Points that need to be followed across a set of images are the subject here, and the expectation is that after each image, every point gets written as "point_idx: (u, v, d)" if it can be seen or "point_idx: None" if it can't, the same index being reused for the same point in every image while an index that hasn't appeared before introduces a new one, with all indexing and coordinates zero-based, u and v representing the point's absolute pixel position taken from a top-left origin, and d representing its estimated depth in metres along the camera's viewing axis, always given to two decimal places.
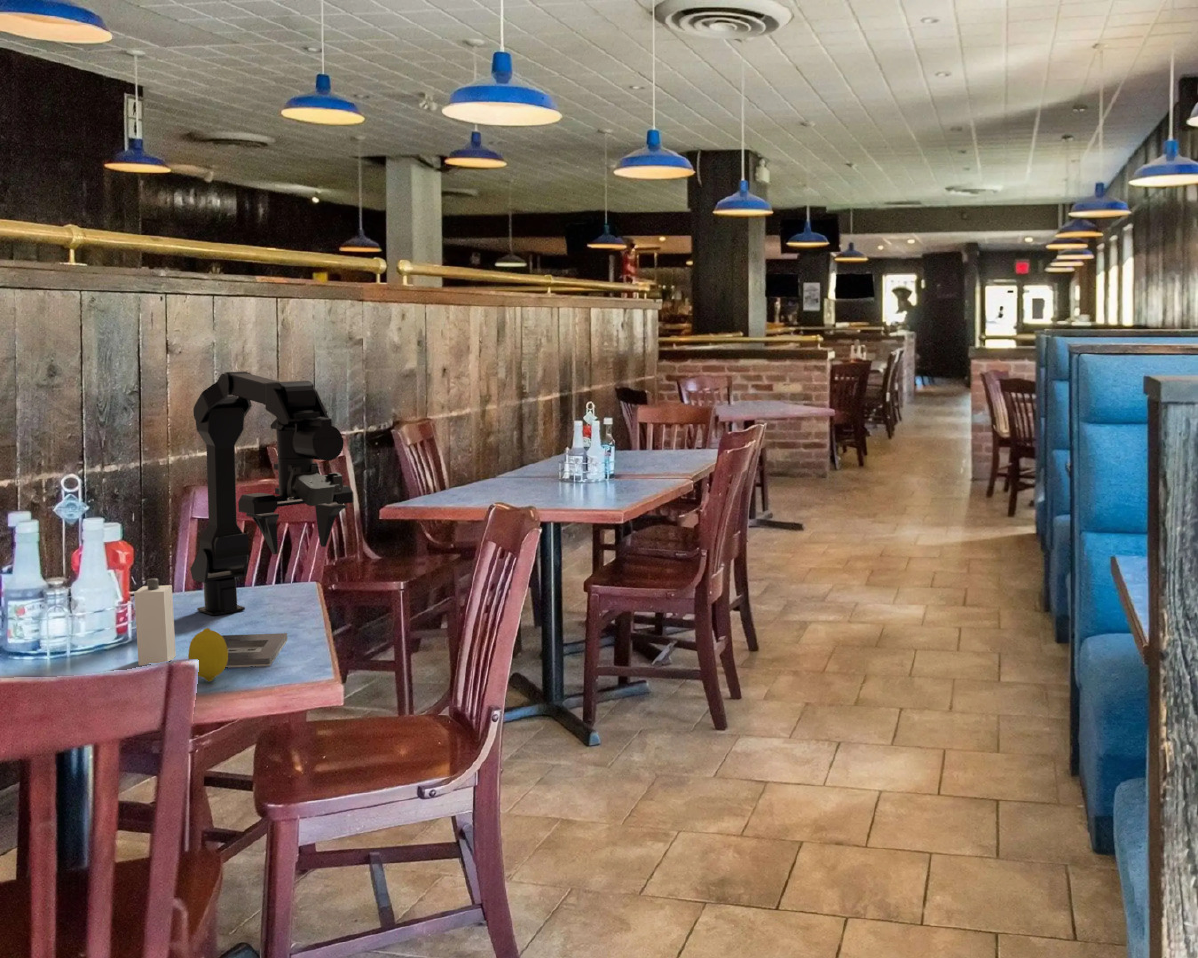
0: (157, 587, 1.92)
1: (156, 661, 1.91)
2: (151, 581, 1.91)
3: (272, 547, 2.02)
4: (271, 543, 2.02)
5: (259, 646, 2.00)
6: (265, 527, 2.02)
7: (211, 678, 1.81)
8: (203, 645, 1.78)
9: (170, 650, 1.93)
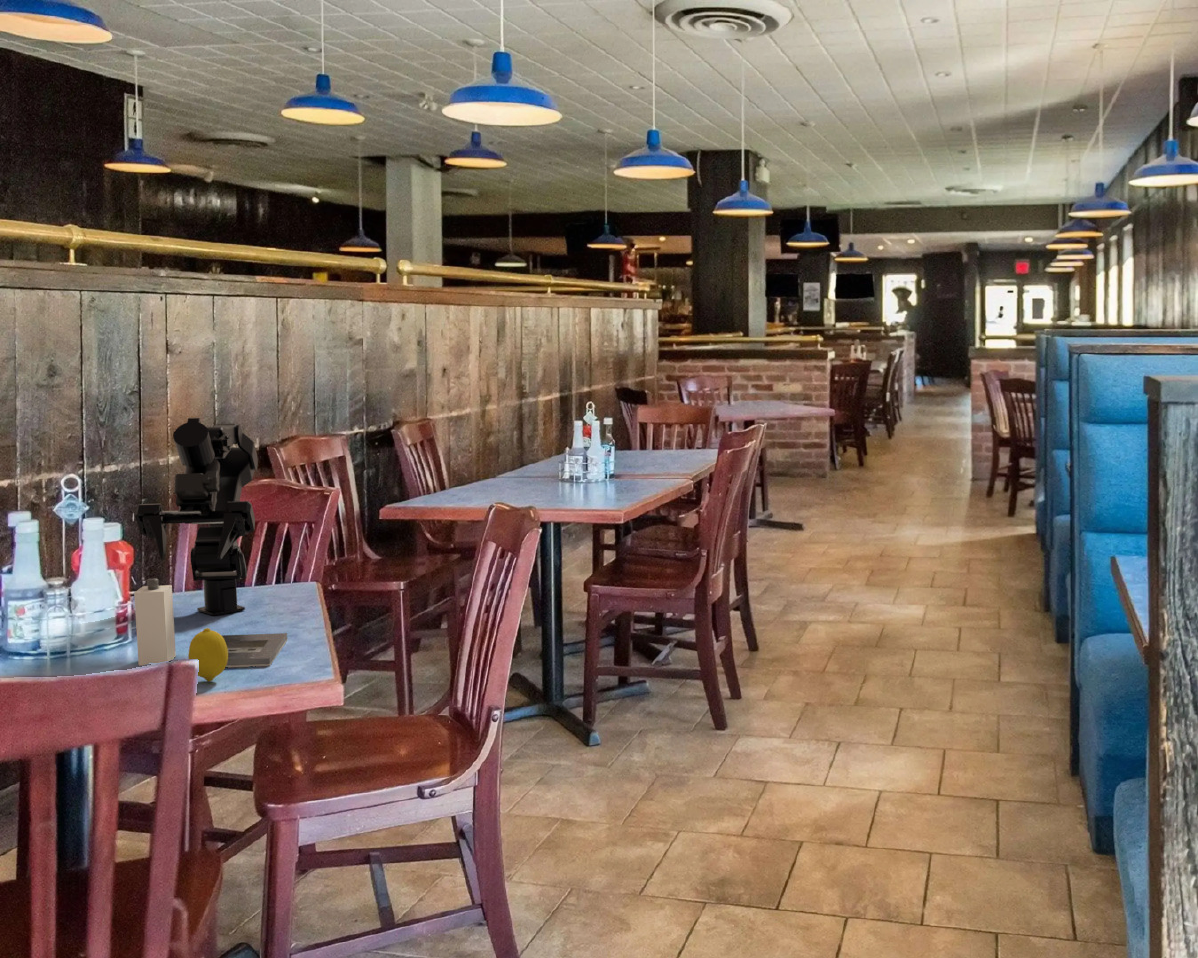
0: (157, 587, 1.92)
1: (156, 661, 1.91)
2: (151, 581, 1.91)
3: (159, 553, 2.03)
4: (158, 549, 2.04)
5: (259, 646, 2.00)
6: None
7: (211, 678, 1.81)
8: (203, 645, 1.78)
9: (170, 650, 1.93)
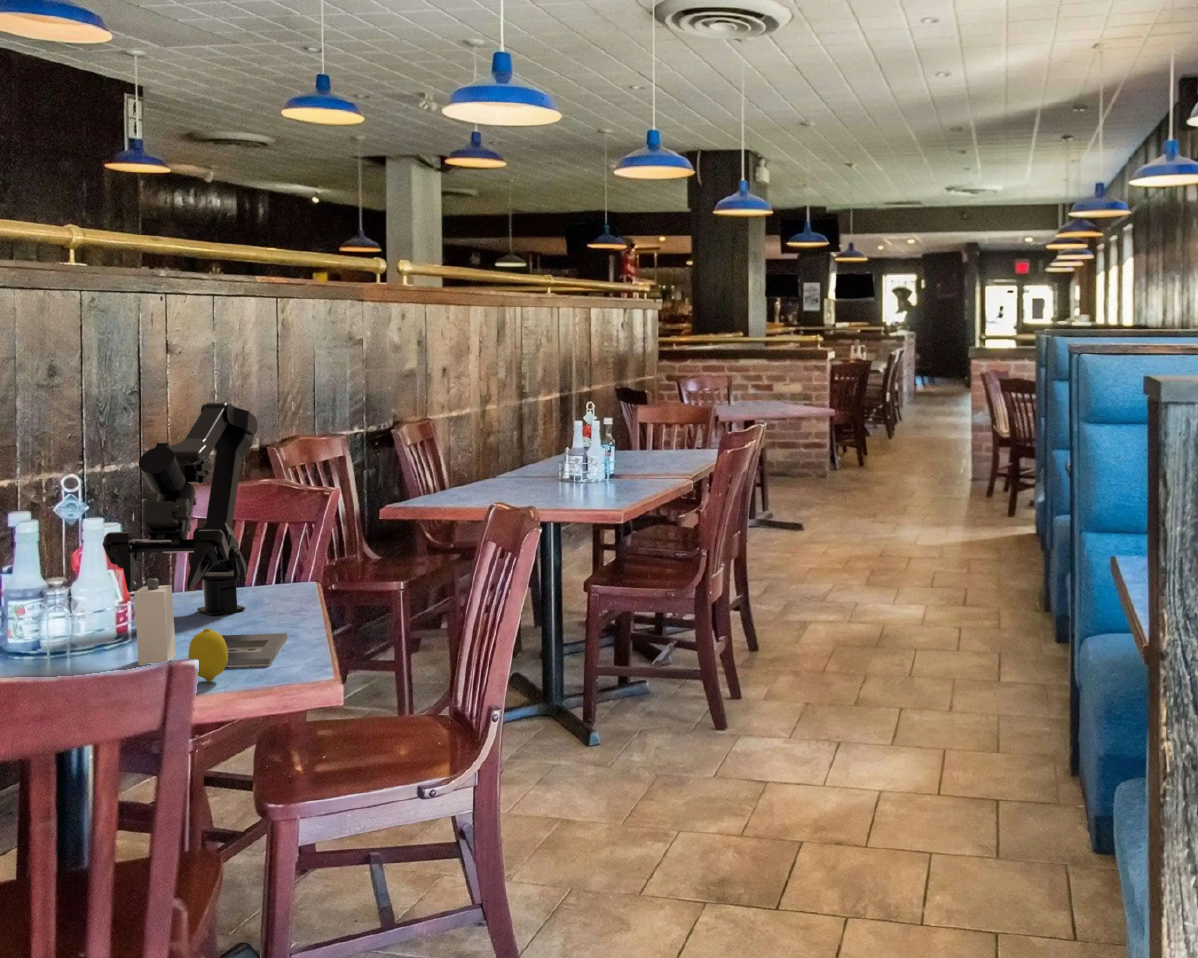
0: (157, 587, 1.92)
1: (156, 661, 1.91)
2: (151, 581, 1.91)
3: (126, 583, 1.95)
4: None
5: (259, 646, 2.00)
6: None
7: (211, 678, 1.81)
8: (203, 645, 1.78)
9: (170, 650, 1.93)
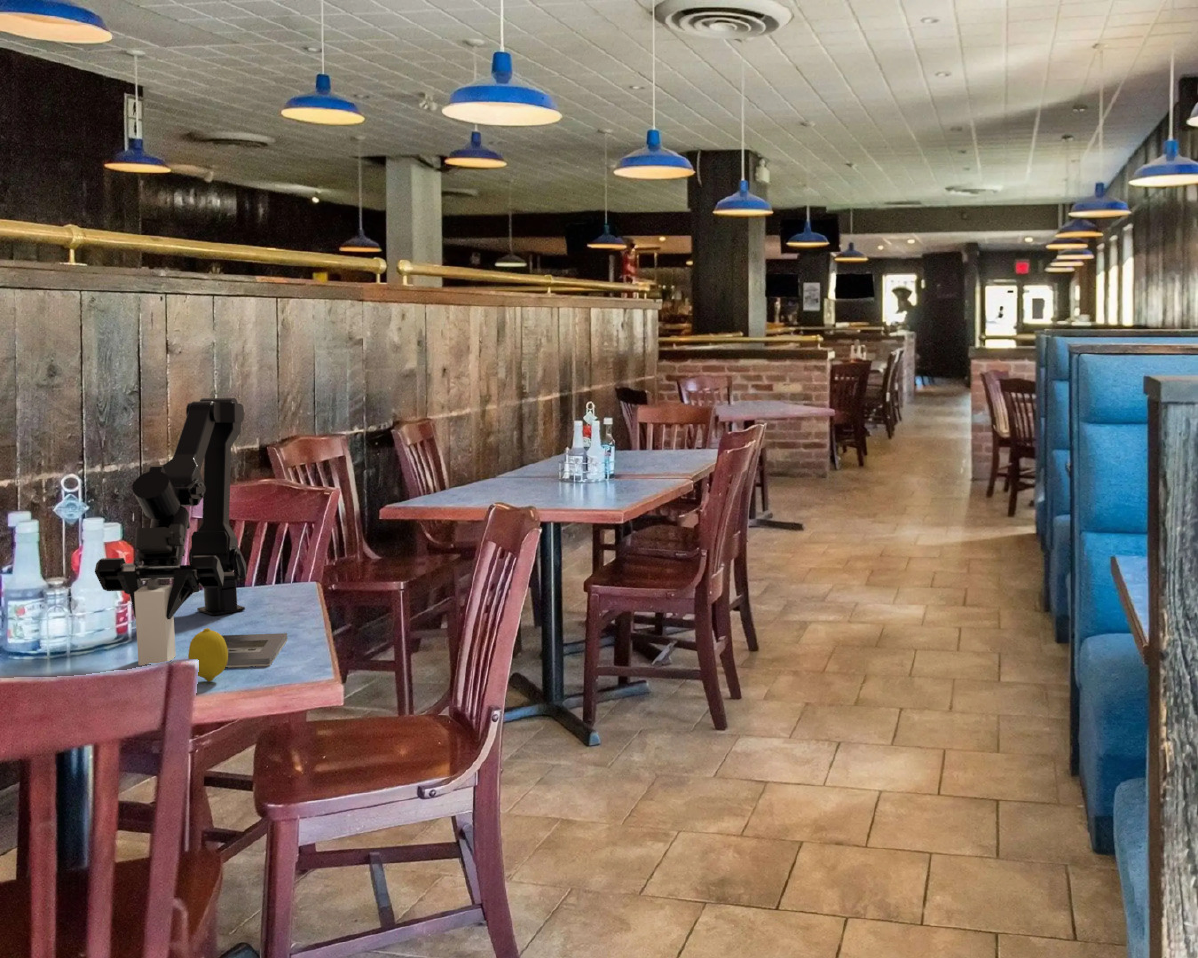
0: (157, 587, 1.92)
1: (156, 661, 1.91)
2: (151, 581, 1.91)
3: None
4: (133, 607, 1.92)
5: (259, 646, 2.00)
6: None
7: (211, 678, 1.81)
8: (203, 645, 1.78)
9: (170, 650, 1.93)
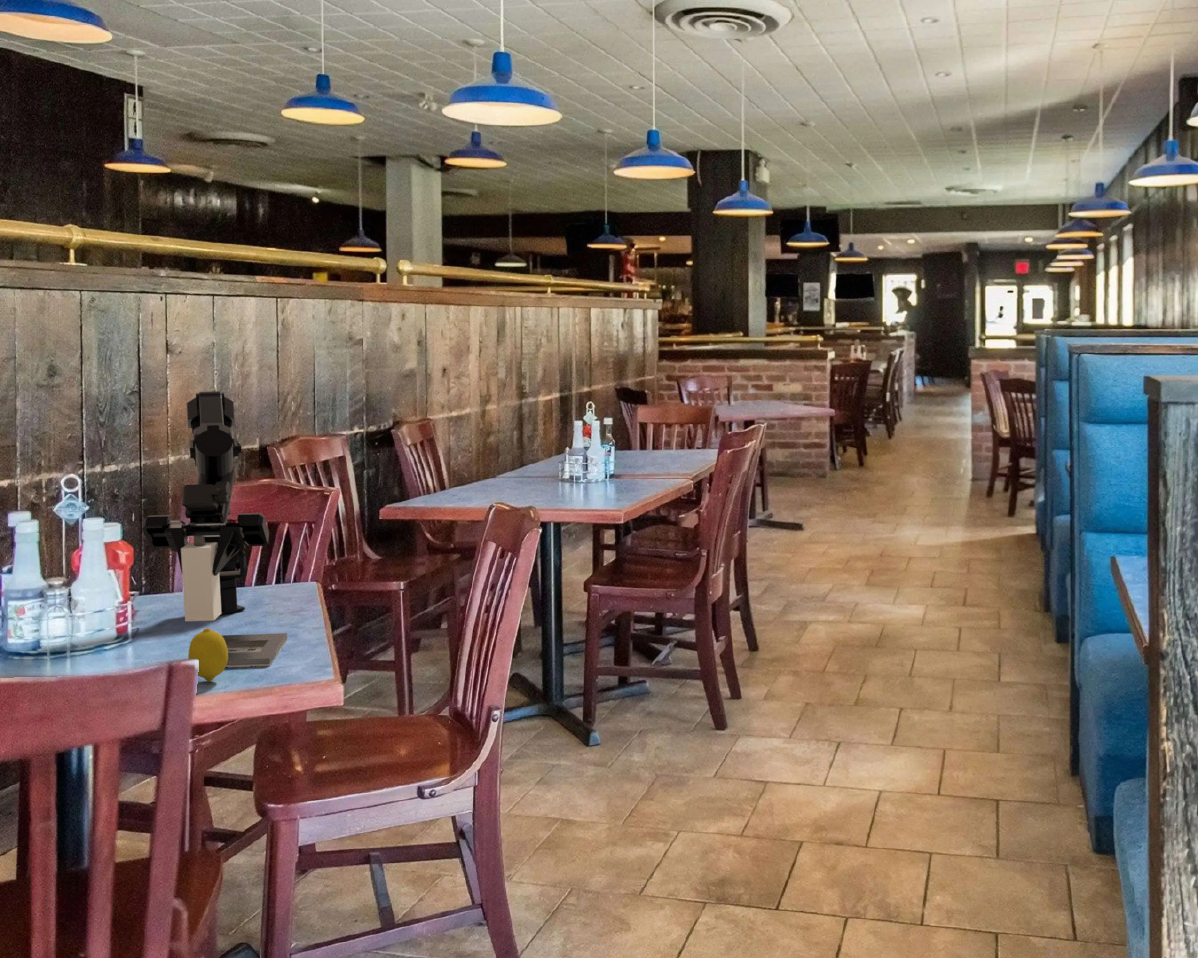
0: (203, 544, 1.93)
1: (202, 617, 1.92)
2: (197, 537, 1.92)
3: (180, 567, 1.93)
4: None
5: (259, 646, 2.00)
6: None
7: (211, 678, 1.81)
8: (203, 645, 1.78)
9: (216, 606, 1.94)
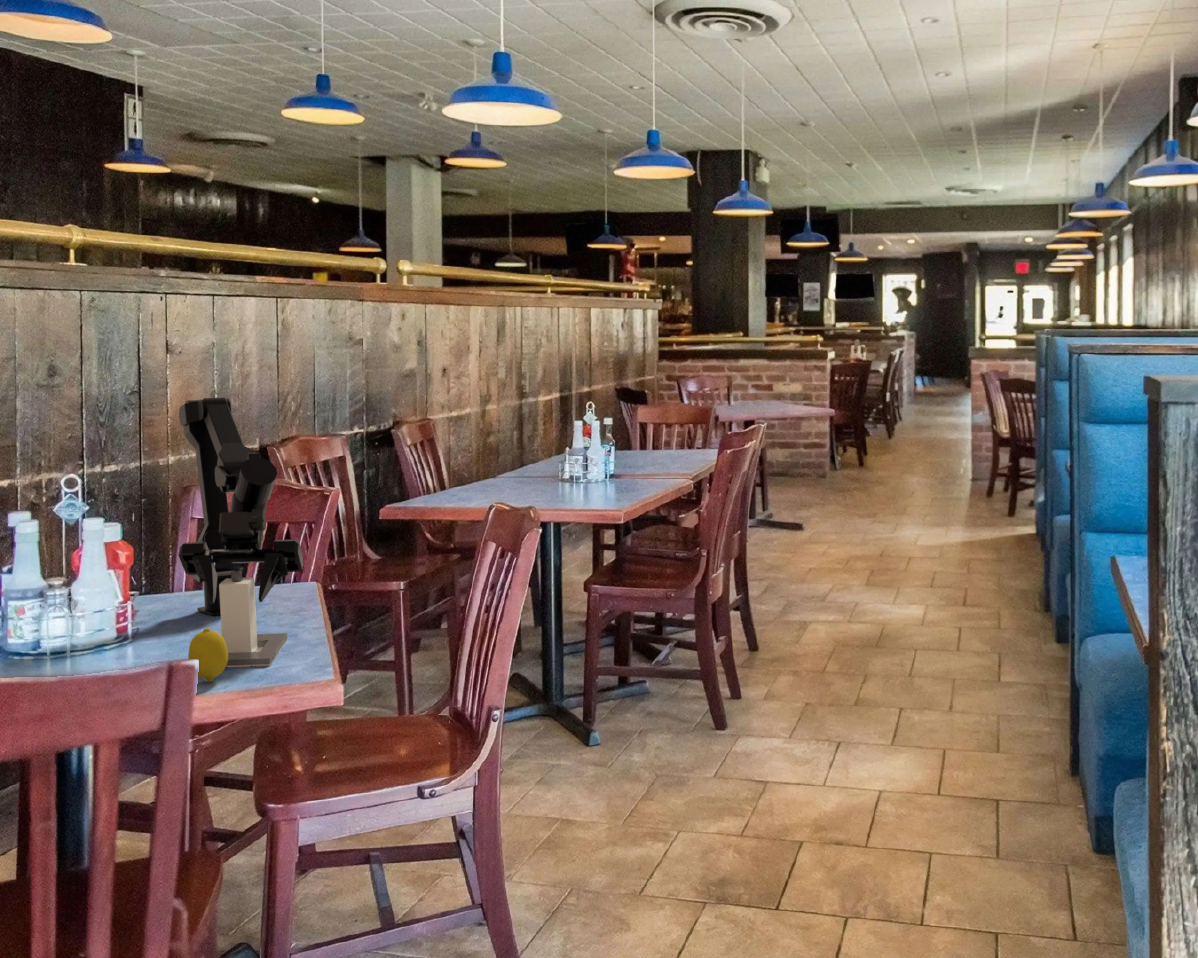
0: (241, 579, 1.95)
1: None
2: (235, 573, 1.94)
3: (209, 594, 1.94)
4: (208, 590, 1.95)
5: (259, 646, 2.00)
6: None
7: (211, 678, 1.81)
8: (203, 645, 1.78)
9: (253, 641, 1.96)
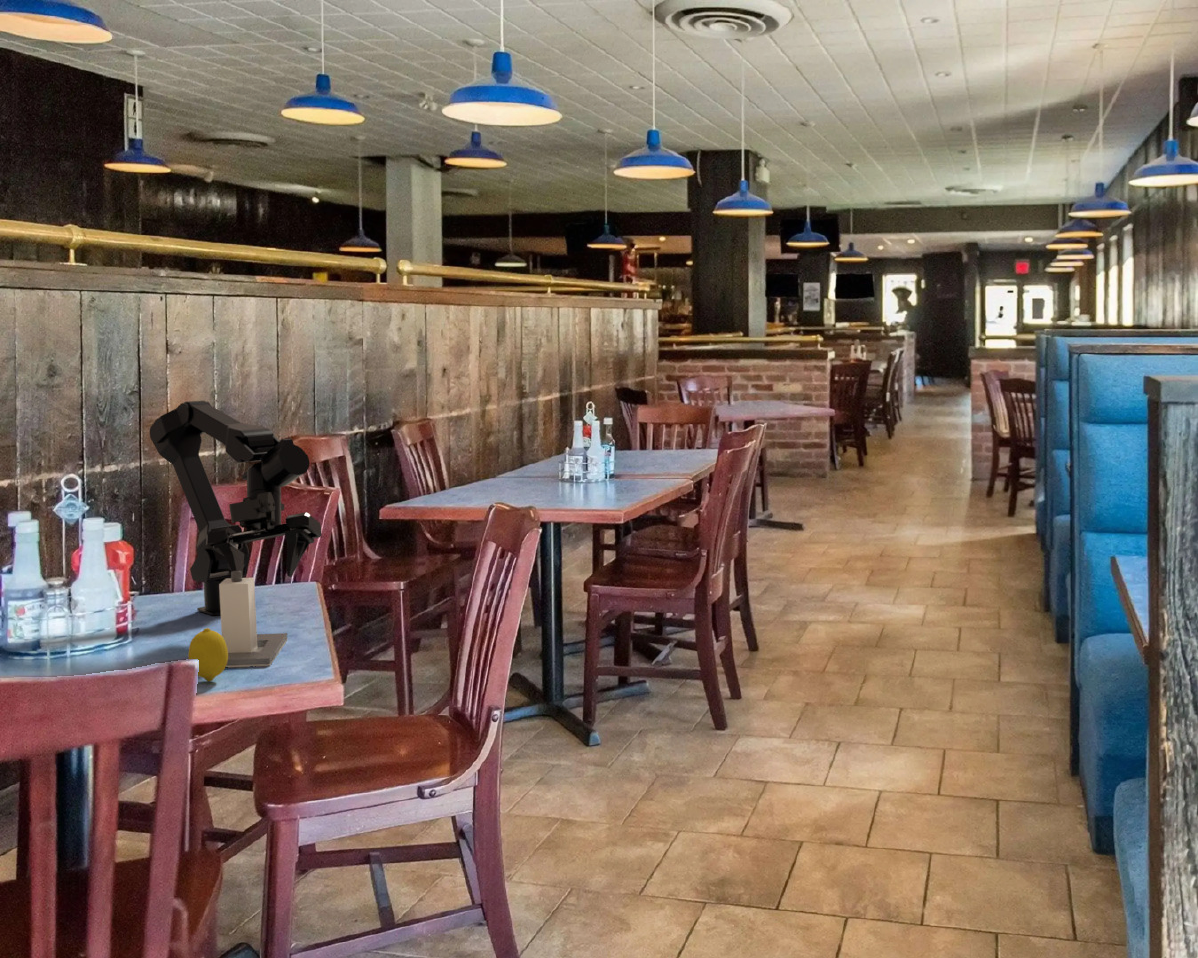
0: (241, 579, 1.95)
1: None
2: (235, 573, 1.94)
3: None
4: None
5: (259, 646, 2.00)
6: None
7: (211, 678, 1.81)
8: (203, 645, 1.78)
9: (253, 641, 1.96)
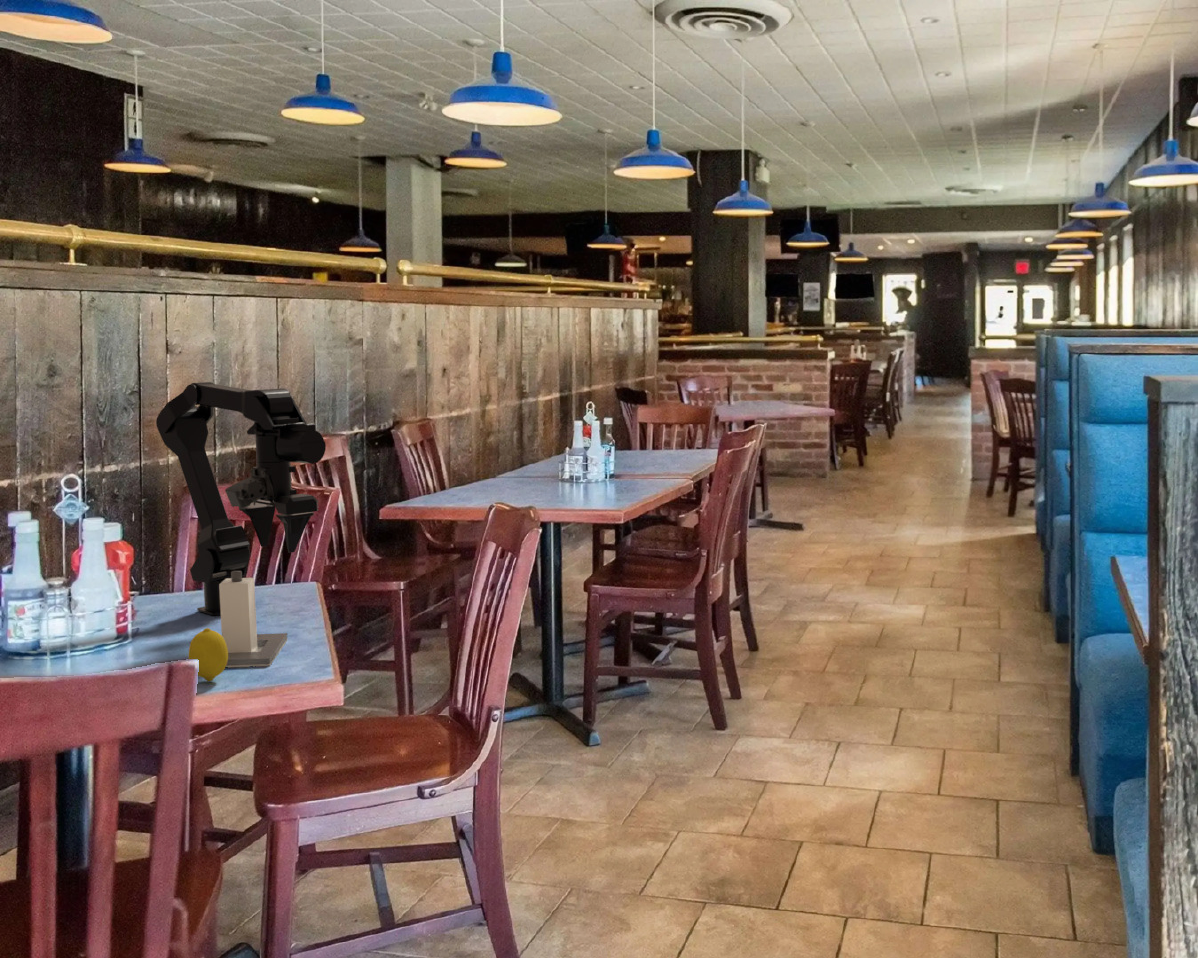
0: (241, 579, 1.95)
1: None
2: (235, 573, 1.94)
3: None
4: None
5: (259, 646, 2.00)
6: None
7: (211, 678, 1.81)
8: (203, 645, 1.78)
9: (253, 641, 1.96)
